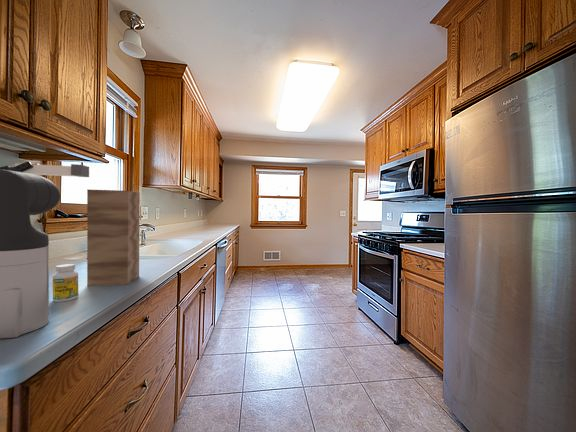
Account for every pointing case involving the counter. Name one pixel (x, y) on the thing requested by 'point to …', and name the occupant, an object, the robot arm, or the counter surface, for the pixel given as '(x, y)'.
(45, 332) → the counter surface
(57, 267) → the supplement bottle
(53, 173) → the white bar
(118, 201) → the walnut stand
